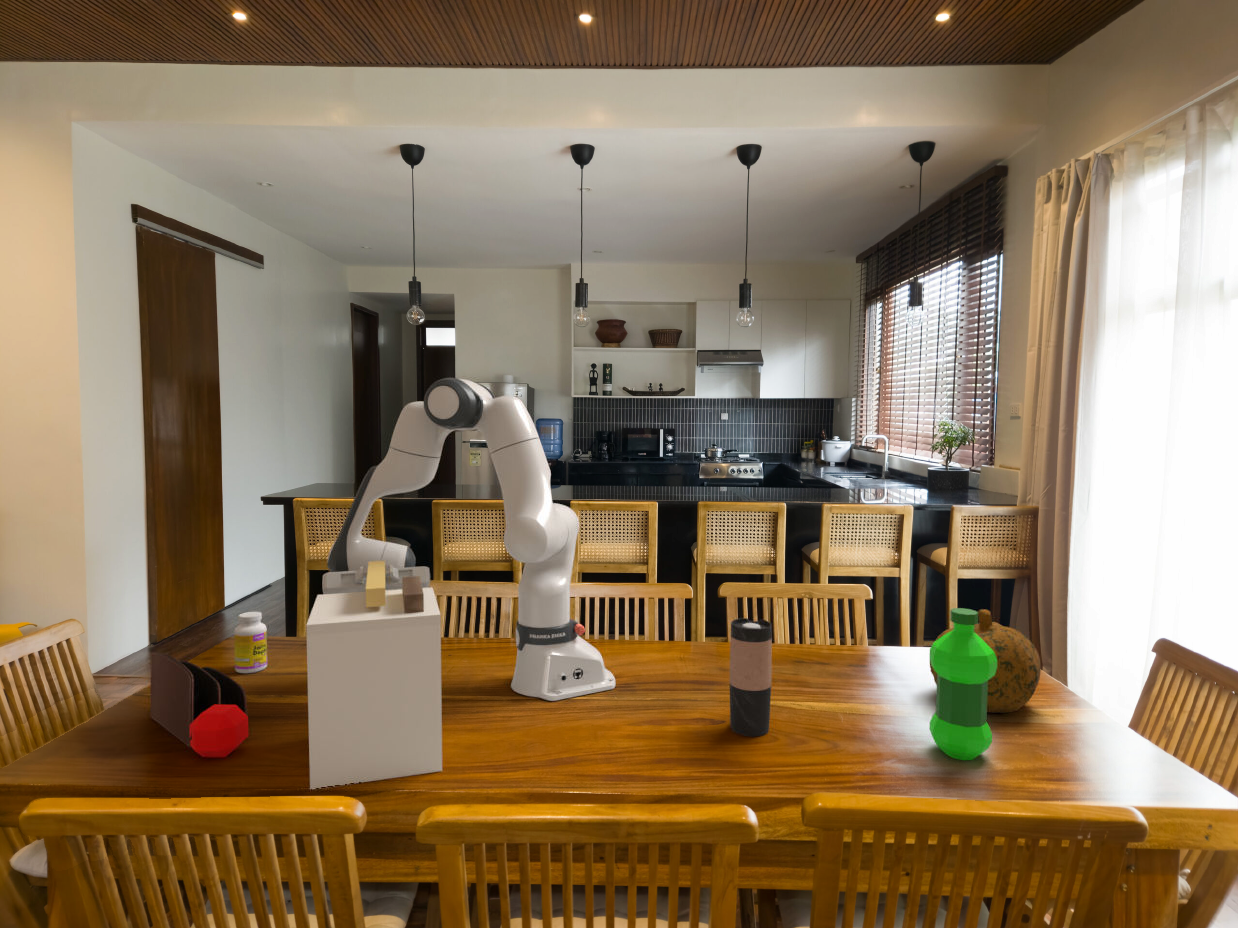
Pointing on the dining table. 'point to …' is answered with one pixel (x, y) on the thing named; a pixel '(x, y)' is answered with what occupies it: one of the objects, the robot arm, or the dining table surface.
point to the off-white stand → (373, 689)
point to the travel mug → (750, 676)
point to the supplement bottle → (250, 643)
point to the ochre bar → (375, 584)
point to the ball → (218, 730)
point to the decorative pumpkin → (1007, 665)
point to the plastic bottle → (962, 688)
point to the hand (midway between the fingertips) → (376, 569)
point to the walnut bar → (412, 594)
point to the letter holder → (188, 693)
